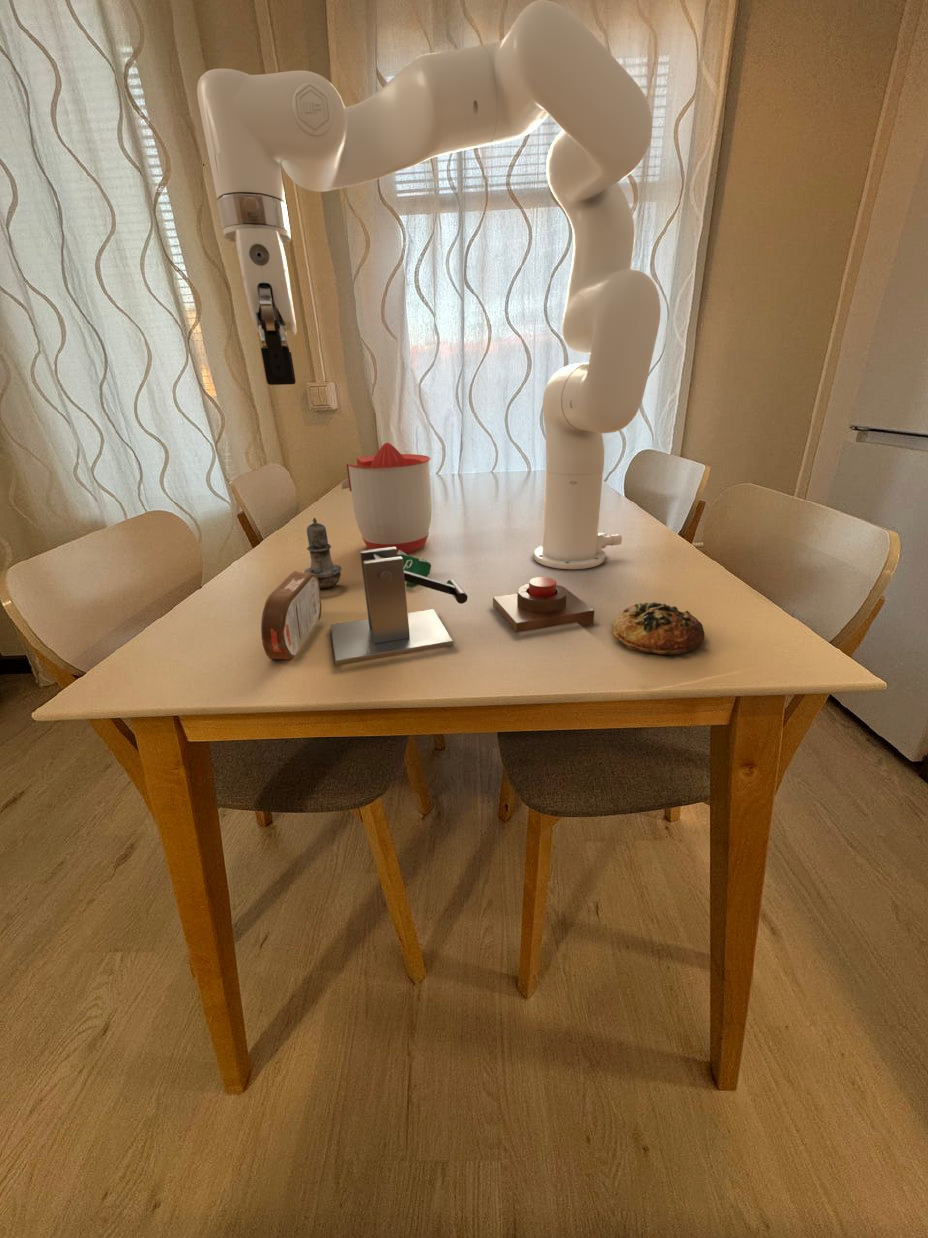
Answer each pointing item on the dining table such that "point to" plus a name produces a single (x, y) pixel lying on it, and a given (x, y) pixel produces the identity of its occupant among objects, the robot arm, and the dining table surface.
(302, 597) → the tin
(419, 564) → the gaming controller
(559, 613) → the button block
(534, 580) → the button
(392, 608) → the bracket
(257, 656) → the dining table surface
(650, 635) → the bread roll
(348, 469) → the citrus juicer
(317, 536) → the salt shaker
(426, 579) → the lever
